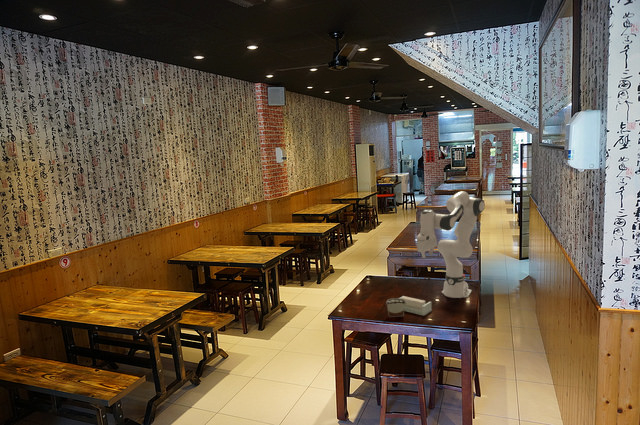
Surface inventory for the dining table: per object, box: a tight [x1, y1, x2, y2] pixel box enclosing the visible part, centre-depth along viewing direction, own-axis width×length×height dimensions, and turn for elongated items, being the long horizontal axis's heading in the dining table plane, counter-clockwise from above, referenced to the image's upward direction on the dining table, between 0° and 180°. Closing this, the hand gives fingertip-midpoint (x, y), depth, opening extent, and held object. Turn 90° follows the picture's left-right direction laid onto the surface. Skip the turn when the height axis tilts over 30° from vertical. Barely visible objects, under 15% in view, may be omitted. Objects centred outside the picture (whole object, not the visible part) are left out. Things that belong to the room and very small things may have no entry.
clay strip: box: [402, 295, 426, 310], centre depth 276 cm, size 4×15×6 cm, turn 49°
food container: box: [385, 297, 406, 318], centre depth 269 cm, size 12×6×10 cm, turn 92°
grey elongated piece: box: [398, 295, 432, 316], centre depth 276 cm, size 10×20×6 cm, turn 49°
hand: (427, 256), depth 276 cm, fingers open, 8 cm apart
